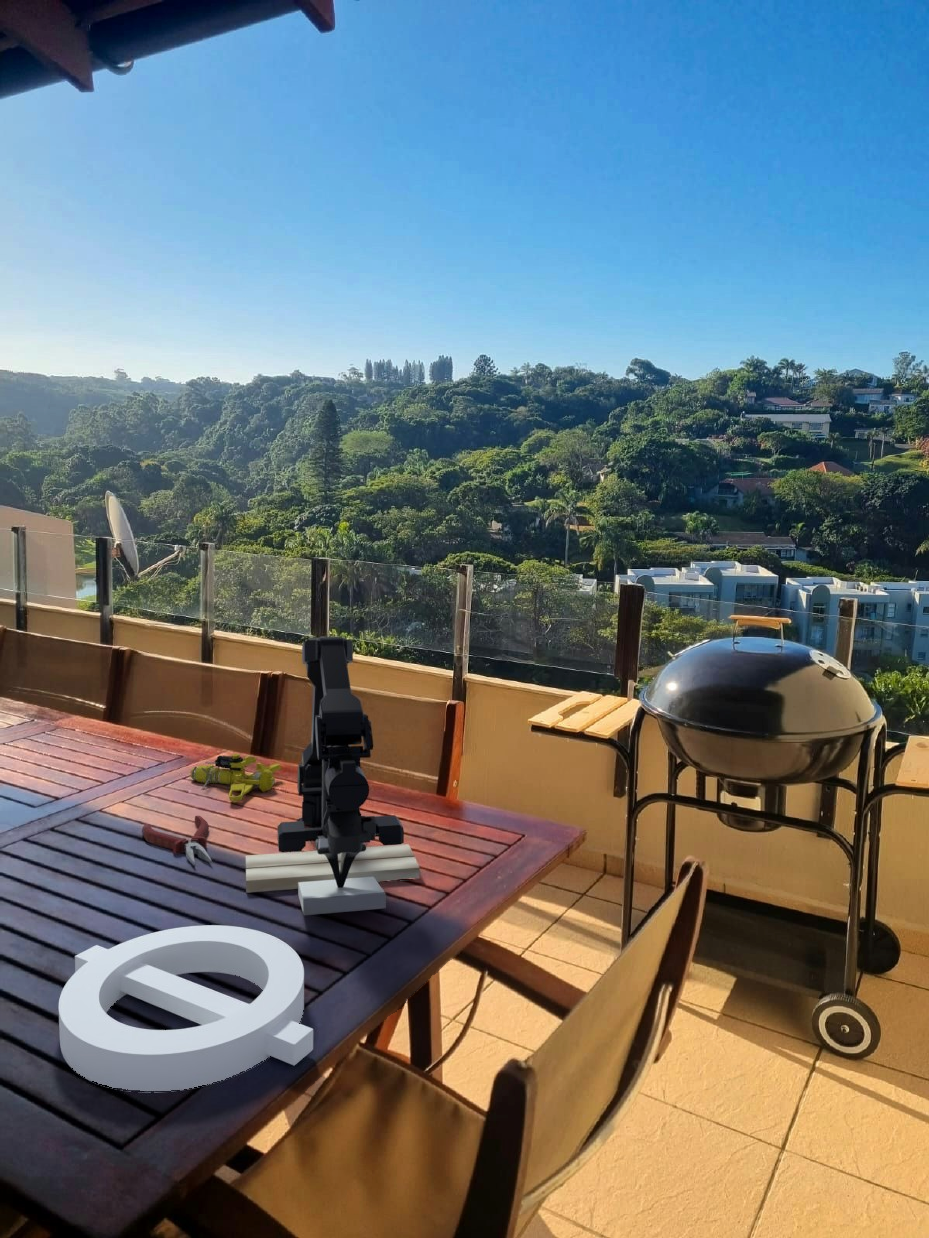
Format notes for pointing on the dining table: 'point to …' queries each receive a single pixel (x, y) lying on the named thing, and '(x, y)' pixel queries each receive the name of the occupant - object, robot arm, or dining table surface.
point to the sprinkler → (236, 774)
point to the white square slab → (341, 896)
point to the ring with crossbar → (183, 1009)
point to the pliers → (182, 841)
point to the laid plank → (327, 867)
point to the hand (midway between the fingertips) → (340, 886)
